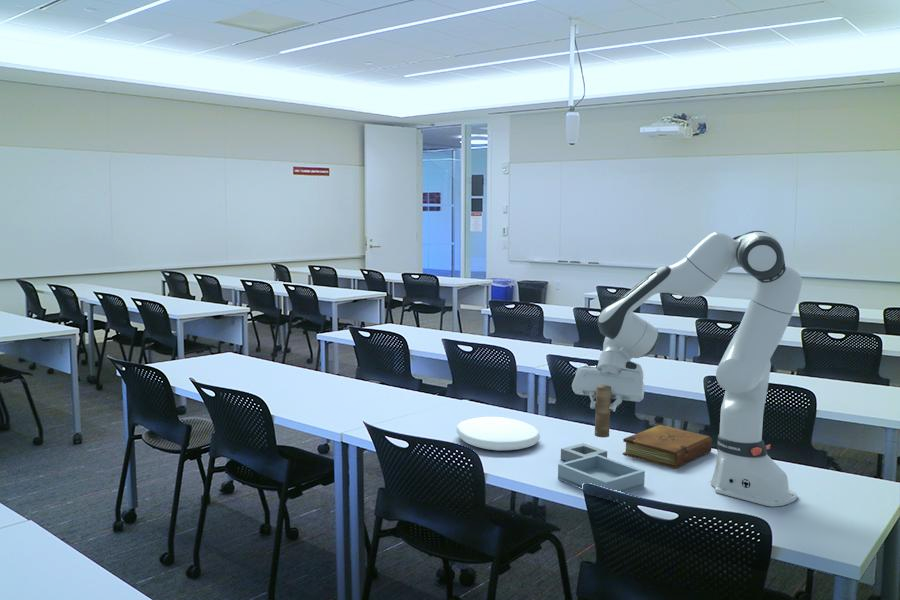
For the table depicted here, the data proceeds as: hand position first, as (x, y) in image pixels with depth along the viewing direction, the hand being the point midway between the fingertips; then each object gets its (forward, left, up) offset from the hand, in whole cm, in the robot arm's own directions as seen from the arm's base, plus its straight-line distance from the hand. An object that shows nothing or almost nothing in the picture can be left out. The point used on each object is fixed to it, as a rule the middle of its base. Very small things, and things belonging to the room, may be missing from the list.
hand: (602, 409), depth 206 cm
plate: (+47, -2, -22) cm, 52 cm away
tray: (0, -1, -22) cm, 22 cm away
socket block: (+16, -11, -22) cm, 29 cm away
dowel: (0, 0, -8) cm, 8 cm away
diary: (+6, -39, -22) cm, 45 cm away
